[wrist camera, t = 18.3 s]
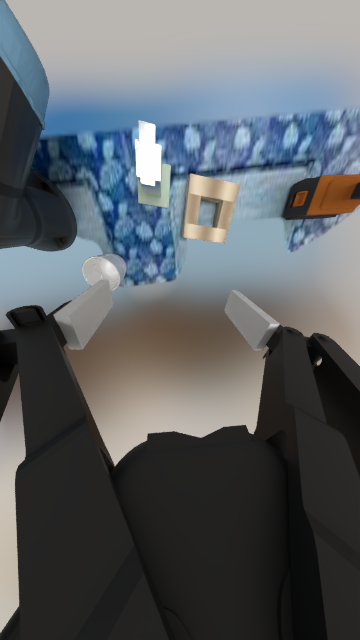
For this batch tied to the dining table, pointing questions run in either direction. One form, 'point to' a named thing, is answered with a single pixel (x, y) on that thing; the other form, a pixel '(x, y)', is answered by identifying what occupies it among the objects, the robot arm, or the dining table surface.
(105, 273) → the white cup
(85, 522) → the robot arm
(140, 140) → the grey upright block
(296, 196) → the power drill
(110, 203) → the dining table surface
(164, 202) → the mat
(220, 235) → the socket block
